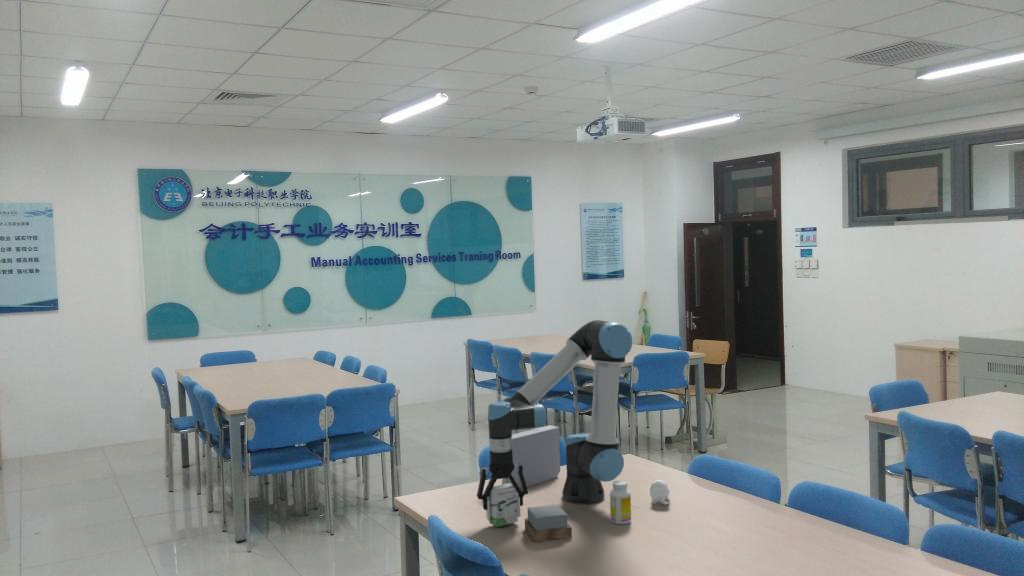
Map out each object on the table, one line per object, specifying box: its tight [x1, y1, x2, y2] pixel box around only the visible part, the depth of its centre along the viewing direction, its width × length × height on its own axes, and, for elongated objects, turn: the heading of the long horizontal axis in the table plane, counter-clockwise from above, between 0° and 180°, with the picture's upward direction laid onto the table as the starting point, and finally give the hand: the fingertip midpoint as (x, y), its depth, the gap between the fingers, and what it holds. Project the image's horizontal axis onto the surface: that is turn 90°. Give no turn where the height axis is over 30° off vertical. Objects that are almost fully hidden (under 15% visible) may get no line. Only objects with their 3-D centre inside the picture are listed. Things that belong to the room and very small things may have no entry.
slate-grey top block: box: [527, 504, 568, 531], centre depth 239 cm, size 10×10×4 cm
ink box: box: [488, 483, 519, 528], centre depth 249 cm, size 9×5×12 cm, turn 123°
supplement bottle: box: [609, 480, 632, 525], centre depth 249 cm, size 7×7×13 cm
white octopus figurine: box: [649, 479, 671, 506], centre depth 269 cm, size 6×8×12 cm
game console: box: [501, 424, 561, 490], centre depth 294 cm, size 6×27×20 cm, turn 133°
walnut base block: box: [524, 517, 573, 544], centre depth 240 cm, size 12×12×4 cm
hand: (503, 517), depth 249 cm, fingers closed on ink box, 9 cm apart
